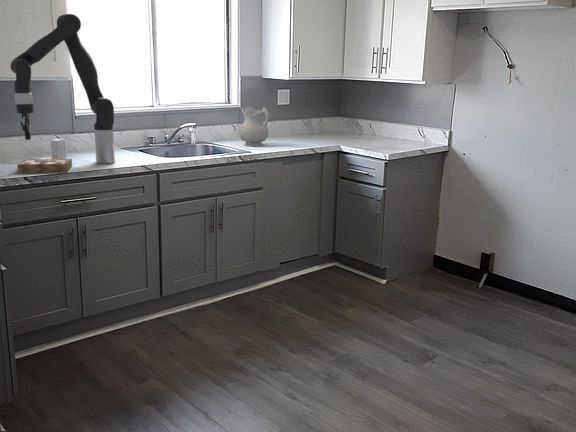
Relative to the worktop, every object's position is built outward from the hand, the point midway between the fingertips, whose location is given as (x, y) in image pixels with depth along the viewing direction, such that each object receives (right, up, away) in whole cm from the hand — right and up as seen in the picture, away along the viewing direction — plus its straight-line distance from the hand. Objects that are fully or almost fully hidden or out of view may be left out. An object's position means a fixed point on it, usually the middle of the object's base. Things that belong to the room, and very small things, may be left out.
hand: (28, 139), depth 290 cm
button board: (+7, -14, +5) cm, 16 cm away
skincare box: (+6, -9, +25) cm, 27 cm away
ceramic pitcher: (+103, +9, +100) cm, 144 cm away
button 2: (+13, -12, +6) cm, 19 cm away
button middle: (+7, -11, +4) cm, 13 cm away
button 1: (0, -12, +3) cm, 12 cm away
